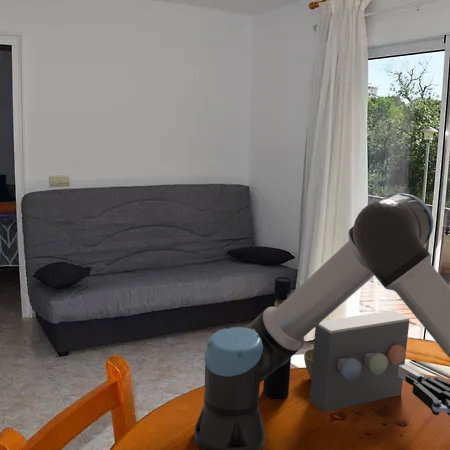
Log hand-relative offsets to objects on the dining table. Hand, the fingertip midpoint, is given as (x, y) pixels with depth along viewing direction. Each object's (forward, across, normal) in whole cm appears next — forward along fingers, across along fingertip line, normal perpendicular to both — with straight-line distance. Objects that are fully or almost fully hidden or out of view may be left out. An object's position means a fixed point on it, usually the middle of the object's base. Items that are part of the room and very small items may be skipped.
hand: (400, 370), depth 132 cm
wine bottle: (+20, -21, -12) cm, 31 cm away
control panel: (+11, -3, -12) cm, 16 cm away
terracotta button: (+8, +5, -2) cm, 10 cm away
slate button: (+6, -11, -2) cm, 13 cm away
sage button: (+6, -3, -2) cm, 7 cm away
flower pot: (+22, -6, -12) cm, 26 cm away
